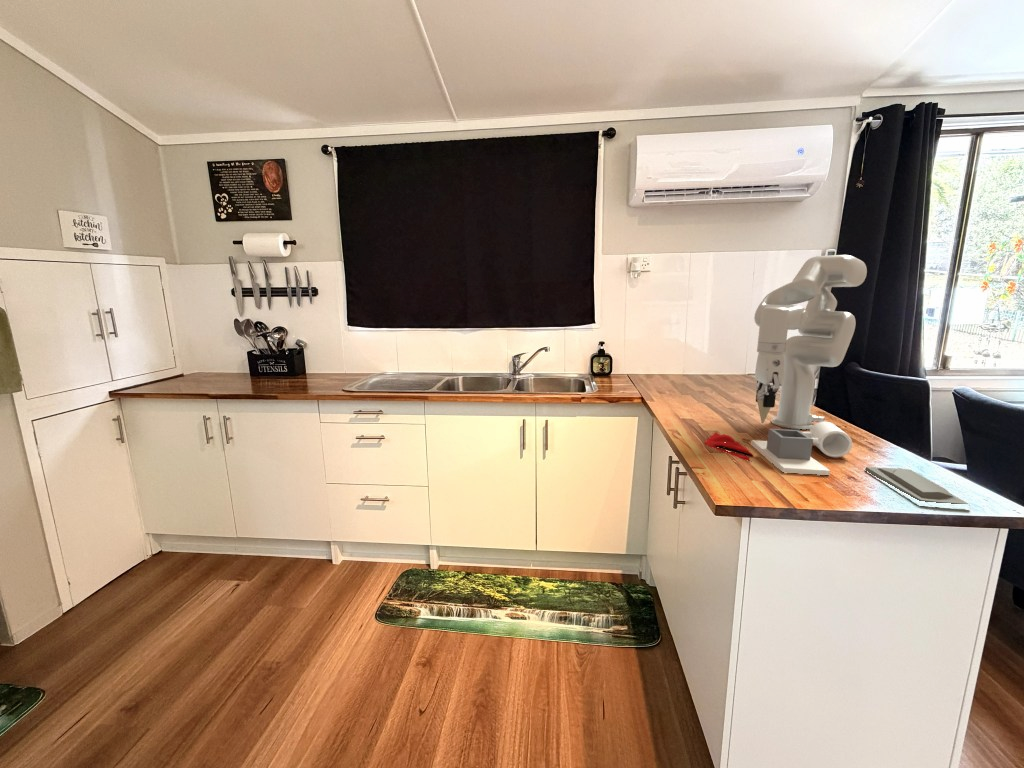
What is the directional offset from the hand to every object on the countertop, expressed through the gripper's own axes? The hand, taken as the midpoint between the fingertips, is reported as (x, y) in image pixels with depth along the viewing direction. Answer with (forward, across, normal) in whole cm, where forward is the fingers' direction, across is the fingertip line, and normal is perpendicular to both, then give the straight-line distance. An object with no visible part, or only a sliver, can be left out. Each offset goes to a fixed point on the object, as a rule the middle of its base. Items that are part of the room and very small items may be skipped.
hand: (764, 404), depth 140 cm
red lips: (+12, -9, +13) cm, 19 cm away
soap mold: (+12, -34, -21) cm, 42 cm away
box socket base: (+11, -18, 0) cm, 21 cm away
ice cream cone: (+7, 0, 0) cm, 7 cm away
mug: (+12, -9, -13) cm, 20 cm away
